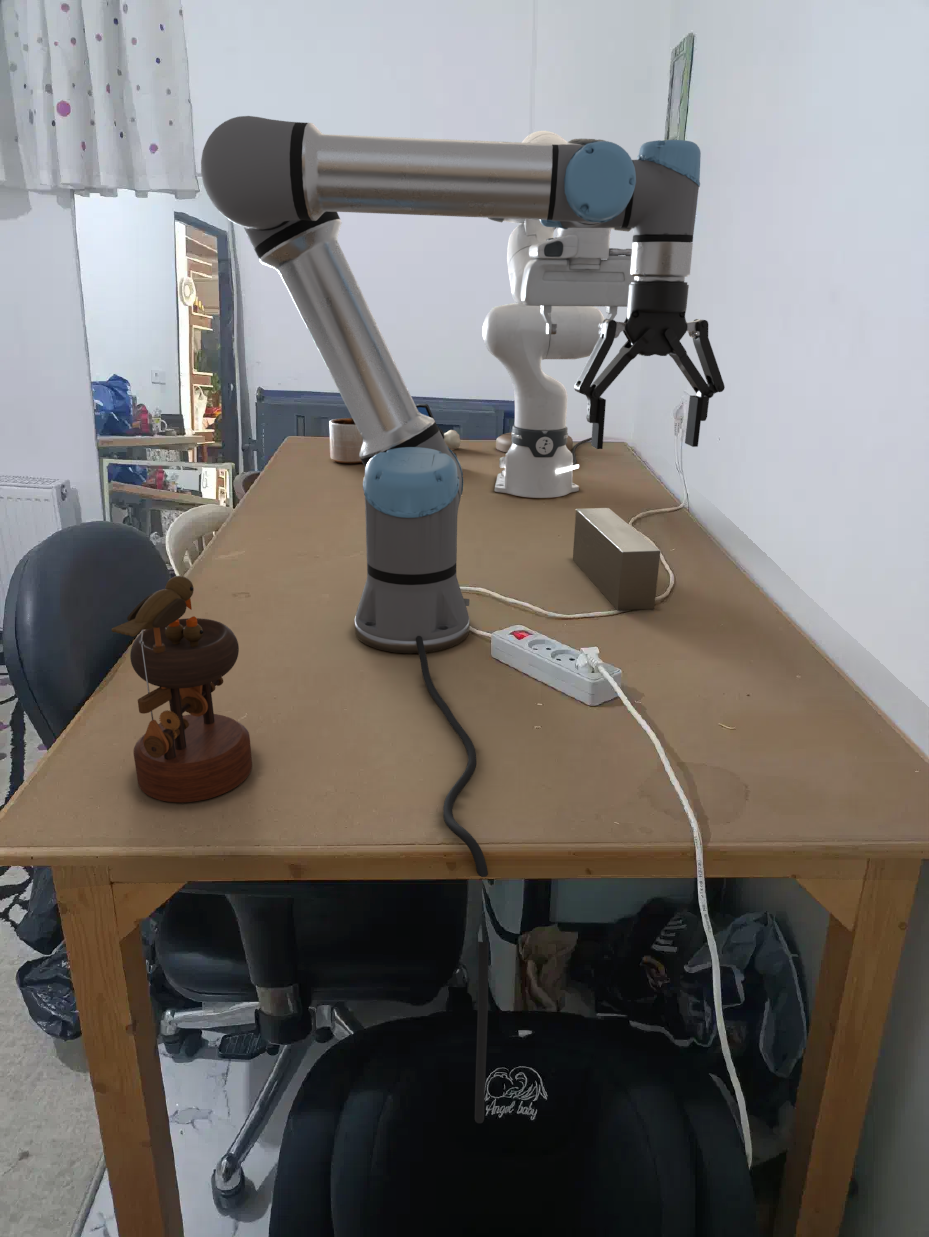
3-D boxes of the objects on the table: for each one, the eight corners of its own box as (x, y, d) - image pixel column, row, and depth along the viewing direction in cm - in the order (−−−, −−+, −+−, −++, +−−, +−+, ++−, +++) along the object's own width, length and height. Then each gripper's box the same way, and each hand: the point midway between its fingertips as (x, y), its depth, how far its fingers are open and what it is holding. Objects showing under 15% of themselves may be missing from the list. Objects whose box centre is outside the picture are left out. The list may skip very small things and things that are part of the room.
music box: (228, 817, 74) (184, 604, 66) (110, 816, 75) (54, 607, 68) (282, 730, 88) (250, 546, 80) (182, 730, 89) (142, 549, 82)
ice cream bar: (502, 464, 212) (503, 447, 210) (493, 443, 238) (494, 428, 236) (585, 464, 213) (587, 448, 211) (568, 443, 239) (569, 428, 237)
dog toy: (457, 445, 233) (458, 427, 231) (461, 450, 228) (461, 431, 226) (384, 447, 230) (384, 428, 228) (386, 451, 224) (386, 432, 223)
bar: (654, 608, 122) (660, 550, 119) (617, 610, 121) (622, 552, 118) (604, 558, 143) (608, 507, 140) (572, 559, 143) (575, 508, 139)
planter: (327, 456, 217) (325, 418, 214) (369, 454, 220) (368, 417, 217) (334, 465, 208) (332, 425, 204) (377, 463, 211) (376, 424, 207)
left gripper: (737, 280, 113) (718, 439, 121) (556, 278, 110) (549, 443, 118) (764, 280, 106) (742, 449, 115) (572, 279, 103) (563, 453, 111)
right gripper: (635, 249, 146) (628, 333, 151) (520, 247, 143) (517, 332, 148) (648, 248, 140) (640, 336, 146) (528, 246, 137) (525, 335, 143)
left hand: (644, 446), depth 116 cm, fingers open, 13 cm apart
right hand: (577, 334), depth 147 cm, fingers open, 8 cm apart
